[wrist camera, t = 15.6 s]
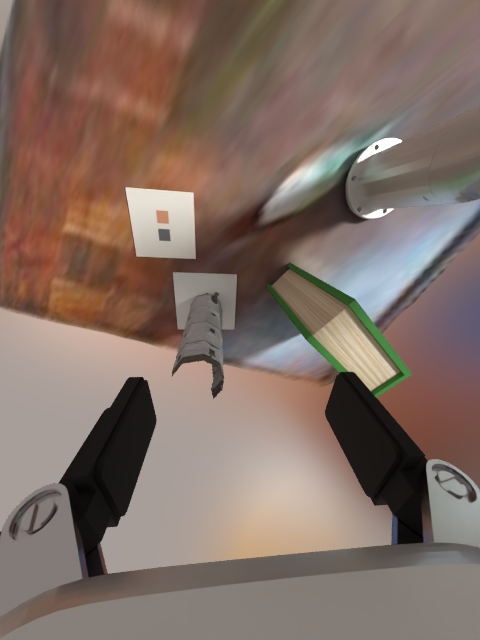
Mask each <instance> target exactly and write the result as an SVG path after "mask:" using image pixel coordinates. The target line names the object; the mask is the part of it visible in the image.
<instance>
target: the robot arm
mask: <svg viewBox="0 0 480 640" xmlns="http://www.w3.org/2000/svg"><path fill="white" fill-rule="evenodd" d="M351 179H352V180H351ZM478 199H480V107H478V108H475V109H473V110H471V111H469V112H466V113H464V114H462V115H460V116H457V117H455V118H453V119H451V120H448V121H446V122H444V123H442V124H439V125H437V126H435V127H433V128H430V129H428V130H426V131H424V132H421V133H419V134H417V135H415V136H412V137H410V138H408V139H406V140H403V141H401V140H400V139H396V138H386V139H382V140H379V141H377V142H375V143H373V144H372V145H370V146H368V147H367V148H366V149H365V150H364V151H363V152H361V154H360V155H359V156H358V157H357V159H356V160H355V162H354V163H353V165H352V167H351V169H350V172H349V174H348V178H347V181H346V200H347V203H348V206H349V208H350V209H351V211H352V212H353V213H354V214H355V215H356V216H358V217H360V218H364V219H375V218H379V217H382V216H384V215H386V214H388V213H389V212H391V211H392V210H393V209H394V208H406V207H418V206H430V205H443V204H455V203H465V202H470V201H474V200H478ZM325 415H326V418H327V420H328V422H329V424H330V426H331V428H332V430H333V432H334V434H335V436H336V438H337V440H338V442H339V444H340V446H341V448H342V449H343V451H344V453H345V455H346V457H347V459H348V461H349V463H350V465H351V467H352V469H353V471H354V473H355V475H356V477H357V479H358V481H359V483H360V485H361V487H362V488H363V490H364V492H365V494H366V495H367V496H368V497H370V498H371V500H372V502H373V503H374V505H388V506H389V508H390V510H391V512H392V541H391V545H385V546H374V547H362V548H351V549H341V550H330V551H319V552H309V553H298V554H288V555H278V556H268V557H257V558H247V559H237V560H227V561H219V562H218V561H217V562H208V563H198V564H188V565H179V566H169V567H159V568H152V569H143V570H136V571H128V572H120V573H112V574H108V573H107V569H106V565H105V560H104V556H103V552H102V548H101V544H100V542H101V541H102V538H103V536H104V533H105V531H106V528H107V527H116V526H118V523H119V520H120V517H121V516H124V515H125V514H126V512H127V509H128V507H129V504H130V500H131V498H132V495H133V492H134V489H135V485H136V483H137V480H138V476H139V474H140V470H141V467H142V465H143V462H144V458H145V455H146V453H147V449H148V447H149V443H150V440H151V437H152V435H153V432H154V429H155V425H156V415H155V410H154V406H153V402H152V398H151V394H150V390H149V386H148V382H147V380H144V378H143V377H129V378H128V379H127V381H126V382H125V384H124V386H123V387H122V389H121V390H120V392H119V394H118V396H117V397H116V399H115V401H114V402H113V404H112V405H111V407H110V408H107V409H106V410H105V411H104V412H103V414H102V415H101V416H100V418H99V420H98V421H97V423H96V424H95V426H94V428H93V429H92V431H91V432H90V434H89V435H88V437H87V439H86V440H85V442H84V443H83V445H82V447H81V448H80V450H79V451H78V453H77V455H76V456H75V458H74V460H73V461H72V463H71V464H70V466H69V467H68V469H67V471H66V472H65V474H64V475H63V477H62V479H61V480H60V482H59V483H58V484H56V483H53V484H50V485H46V486H44V487H42V488H40V489H38V490H36V491H34V492H33V493H32V494H30V495H29V496H28V497H26V498H25V499H24V500H23V501H22V502H21V503H20V504H19V505H18V506H17V507H16V508H15V509H14V510H13V512H12V513H11V514H10V515H9V517H8V519H7V520H6V522H5V524H4V526H3V528H2V531H1V532H0V640H480V490H479V489H478V487H477V486H476V484H475V483H474V482H473V481H472V480H471V479H470V478H469V477H468V476H467V475H466V474H465V473H463V472H462V471H461V470H459V469H458V468H456V467H455V466H453V465H451V464H450V463H447V462H444V461H442V460H437V459H433V460H429V461H427V460H426V458H425V457H424V456H425V455H424V453H423V452H422V451H421V450H420V449H419V447H418V446H417V445H416V444H415V443H414V441H413V440H412V439H411V438H410V437H409V436H408V434H407V433H406V432H405V431H404V430H403V429H402V428H401V426H400V425H399V424H398V423H397V422H396V420H395V419H394V418H393V417H392V416H391V415H390V413H389V412H388V411H387V410H386V409H385V407H384V406H383V405H382V404H381V403H380V402H379V400H378V399H377V398H376V397H375V396H374V395H373V393H372V392H371V391H370V390H369V389H368V387H367V386H366V385H365V384H364V383H363V382H362V380H361V379H360V378H359V377H358V376H357V375H356V373H354V372H340V374H339V375H337V376H336V379H335V382H334V385H333V389H332V392H331V394H330V397H329V401H328V404H327V407H326V410H325Z"/></svg>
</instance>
